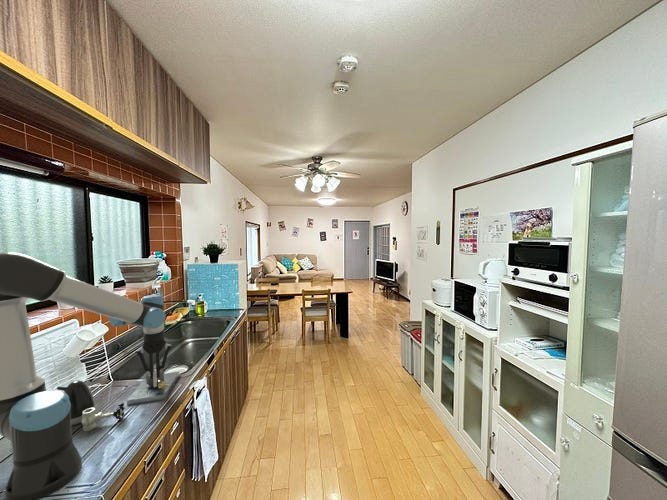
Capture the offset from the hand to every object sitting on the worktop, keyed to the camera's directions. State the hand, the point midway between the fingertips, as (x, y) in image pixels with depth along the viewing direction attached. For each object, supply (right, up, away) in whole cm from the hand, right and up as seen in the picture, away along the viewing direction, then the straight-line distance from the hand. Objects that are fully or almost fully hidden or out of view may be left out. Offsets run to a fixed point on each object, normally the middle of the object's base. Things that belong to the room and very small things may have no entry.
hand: (155, 385), depth 123 cm
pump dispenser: (-20, -6, -15) cm, 26 cm away
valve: (-8, -6, -18) cm, 21 cm away
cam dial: (-1, -2, +4) cm, 5 cm away
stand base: (-4, -5, +7) cm, 9 cm away
